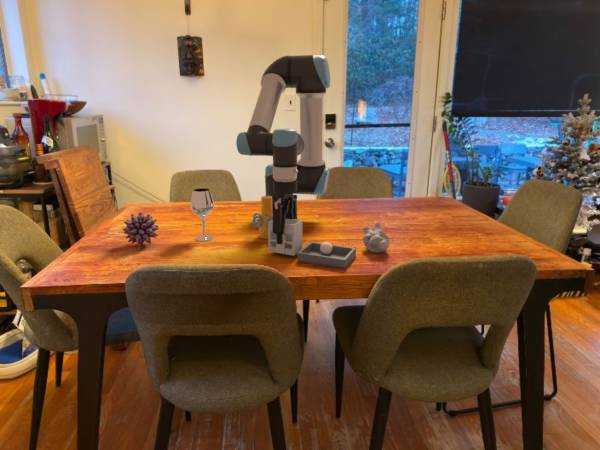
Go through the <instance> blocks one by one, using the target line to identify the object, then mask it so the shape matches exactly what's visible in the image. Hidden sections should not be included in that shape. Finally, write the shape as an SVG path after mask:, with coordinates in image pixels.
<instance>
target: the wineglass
mask: <svg viewBox="0 0 600 450" xmlns="http://www.w3.org/2000/svg"><path fill="white" fill-rule="evenodd" d="M214 208H215V202H214V199H213V194H212V193H211V190H210V188H204V187H202V188H195V189H193V190H192V194H191V198H190V209H191V211H192V212H193V213H194V214H195V215H197V216H198V217H199V218H200V220H201V226H202V235H198V236H197V237H195V241H197V242H210V241H211V240H214V236H213V235H207V234H206V224H205V219H206V218H207V217H208V216H209V215H210V214H211V213H212V212H213V211H214Z"/></svg>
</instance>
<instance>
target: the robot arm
mask: <svg viewBox="0 0 600 450" xmlns="http://www.w3.org/2000/svg"><path fill="white" fill-rule="evenodd" d="M330 86H331V72H330V66H329V62H328V59H327V57H326V56H325V55H321V54H320V55H318V54H317V55H316V54H311V55H310V54H309V55H308V54H307V55H306V54H305V55H284V56H281V57H279V58H277V59H276V60H274V61H272V63H271V64H270V65H268V67H267V68H266V69H265V70H264V72H263V73H262V76H261V79H260V87H261V88H260V91H259V94H258V97H257V100H256V103H255V107H254V110H253V113H252V115H251V119H250V122H249V125H248V128H247V131H243V132H239V133H238V134H237V136H236V141H235V143H236V144H235V145H236V150H237V153H238V154H240V155H243V156H250V157H252V156H254V157H255V156H258V157H259V156H261V157H267V156H268V157H272V163H270V164H268V165H267V166H265V170H264V171H265V172H264V180H265V181H264V182H265V183H264V185H265V186H264V187H265V196H272V214H273V233H275V234H276V248H277V253H276V254H280V253H283V254H282V255H286V254H285V234H284V226H285V219H296V220H298V207H297V206H298V205H297V204H298V203H297V202H298V201H297V200H298V195H312V196H317V195H318V196H319V195H320V196H321V195H324V194H325V193H326V190H327V188H328V183H329V176H330V167H329V166H326V161H325V160H324V159H323V148H322V147H323V136H322V135H323V132H322V131H323V97H324V95H326V94H327V89H330ZM286 89H295V94H296V95H297V96H298V97H299V110H300V111H299V119H300V120H299V125H300V127H299V128H300V129H299V133H298V131H297V130H296V129H294V128H276V129H273V132H271V130H272V126H273V123H274V121H275V120H274V119H275V116H276V113H277V110H278V107H279V102H280V100H281V96H282V95H283V93H284V92H285V91H286ZM299 155H300V159H299V160H298V156H299Z"/></svg>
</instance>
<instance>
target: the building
mask: <svg viewBox="0 0 600 450" xmlns="http://www.w3.org/2000/svg"><path fill="white" fill-rule="evenodd" d="M284 234H285V254H283V253H279V254H280V255H287V256H297V252H299V251H300V250H301V249H303V220H302V219H297V220H296V219H285V226H284ZM267 241H268V242H267V243H268V245H267V246H268V248H267V249H268V253H276V254H278V253H277V248H276V234H275V233H273V220H271V221H269V222H268V239H267Z"/></svg>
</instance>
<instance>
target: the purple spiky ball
mask: <svg viewBox="0 0 600 450" xmlns="http://www.w3.org/2000/svg"><path fill="white" fill-rule="evenodd" d="M144 214H145V213H144V212H143V211H142V212H141V211H138V214H137V215H135V214H134V213H131V214H130V216H131V217H130V219H126V220H124V221H123V223H124V224H125V227H123V228H122V231H123V234H127V236H126V237H125V240H126V239H128V243H131V244H132V245H134V244H135V243H137V244H138V247H141V246H144V243H145V242H146V243H148V244H149V245H151V244H152V242H151V241H152V239H151V238H155V239H156V238H157V237H158V236H159V234H157V233H156V232H155V231H157V230H159V229H160V228H159V225H158V224H156V222H157V221H158V220H157V219H153V216H151V213H148V214H147V215H144Z"/></svg>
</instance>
